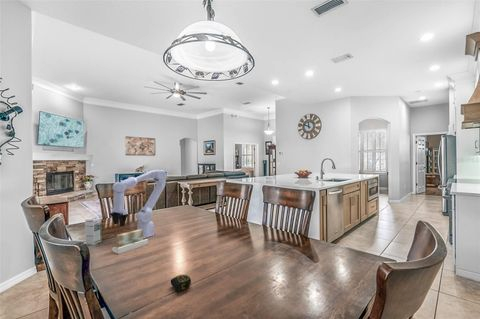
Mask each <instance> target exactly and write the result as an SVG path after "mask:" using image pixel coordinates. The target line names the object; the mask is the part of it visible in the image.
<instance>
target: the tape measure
mask: <svg viewBox="0 0 480 319" xmlns="http://www.w3.org/2000/svg"><path fill="white" fill-rule="evenodd" d="M170 284H171V286H172V287H173V289H175V291H176V292H177V293H180V292H181V291H185V290H187V289H189V288H190V287H191V285H192V279H191V277H190V275H188V274H179V275H177V276H175V277H173V278H171V279H170Z"/></svg>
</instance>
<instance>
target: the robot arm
mask: <svg viewBox="0 0 480 319" xmlns="http://www.w3.org/2000/svg"><path fill="white" fill-rule="evenodd" d="M167 176H168V175H167V174H166V171H165V170H164V169H153V170H149V171H148V172H145V173H143V174H141V175H138V176H136V177H135V176H128V177H127V178H126V179H124V180H123V179H121V180H119V182H118V181H117V182H114V184H113V185H112V187H111V188H112V190H113V207H112V208H111V212H110V213H109V215H110V217H111V218H112V222H113V225H118V224H119V227H125V223H126V220H127V218H128V217H129V213H128V211H127V210H126V209H125V191H126V190H128V189H130V188H133V187H135V186H137V184H138V183H139V182H143V181H145V180H148V179H153V180H154V181H155V184H156V185H155V187H154V188H153V191H152V192H151V194H150V196H149V198H148V199H147V201H146V203H145V205H144V206H143V207H141V209H140V210H139V211H138V212H137V213H136V215H135V217H136V220H137V222H136V223H137V225H136V226H137V227H136V230H139V229H143V239H147V238H149V237H152V236H155V231H154V230H155V226H154V222H153V221H152V220H151V219H152V214H153V209H154V207H155V205H156V203H157V201H159V199H160V197H161V194H162V193H163V191H164V189H165V187H166V182H167Z"/></svg>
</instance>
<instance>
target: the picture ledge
mask: <svg viewBox="0 0 480 319" xmlns="http://www.w3.org/2000/svg"><path fill="white" fill-rule="evenodd" d="M148 245H149V239H148V238H144V239H143V240H142V241H139V242H135V243H134V242H133V243H132V244H129V245H125V246H122V247H119V248H117V246H115V247H112V250H111V252H112V253H115V254H117V255H120V254H124V253H126V252H130V251H133V250H136V249H139V248H142V247H145V246H148Z"/></svg>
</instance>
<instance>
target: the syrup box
mask: <svg viewBox="0 0 480 319" xmlns="http://www.w3.org/2000/svg"><path fill="white" fill-rule="evenodd" d="M84 222H85V223H84V224H85V244H86V243H87V244H86V245H89V244H90V245H92V246H94V245H97V244H98V243H101V242H102V217H97V216H96V217H91V218H88V219H85V221H84Z"/></svg>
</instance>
